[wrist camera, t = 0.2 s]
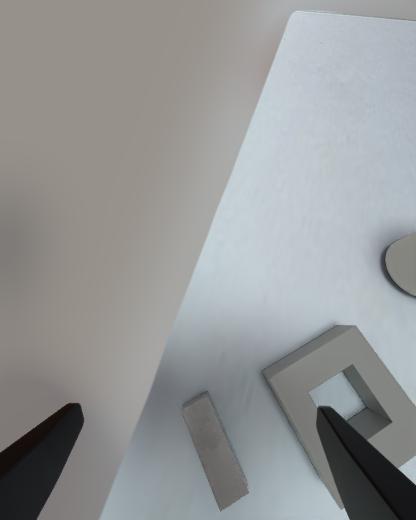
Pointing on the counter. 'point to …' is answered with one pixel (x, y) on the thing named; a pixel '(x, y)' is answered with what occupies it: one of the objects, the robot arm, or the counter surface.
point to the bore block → (365, 384)
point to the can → (403, 263)
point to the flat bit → (215, 451)
